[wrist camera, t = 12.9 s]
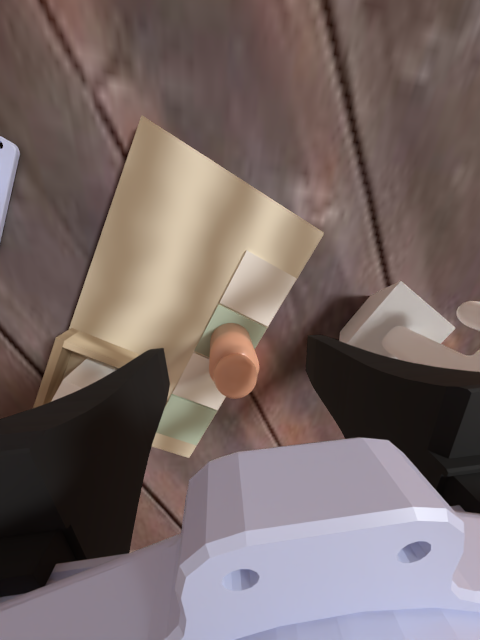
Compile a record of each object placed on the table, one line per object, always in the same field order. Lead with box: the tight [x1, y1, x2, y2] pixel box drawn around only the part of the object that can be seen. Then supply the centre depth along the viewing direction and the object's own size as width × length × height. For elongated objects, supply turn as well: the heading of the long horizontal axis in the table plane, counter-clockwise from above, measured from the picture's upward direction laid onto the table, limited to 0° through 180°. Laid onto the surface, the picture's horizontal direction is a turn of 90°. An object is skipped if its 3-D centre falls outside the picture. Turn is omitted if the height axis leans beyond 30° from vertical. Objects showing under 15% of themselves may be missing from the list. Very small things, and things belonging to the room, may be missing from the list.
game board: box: [33, 116, 324, 458], centre depth 19 cm, size 15×26×3 cm, turn 152°
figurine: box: [339, 281, 480, 372], centre depth 16 cm, size 7×10×15 cm
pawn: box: [209, 323, 259, 399], centre depth 17 cm, size 4×4×7 cm
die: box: [51, 357, 119, 402], centre depth 19 cm, size 4×4×4 cm
